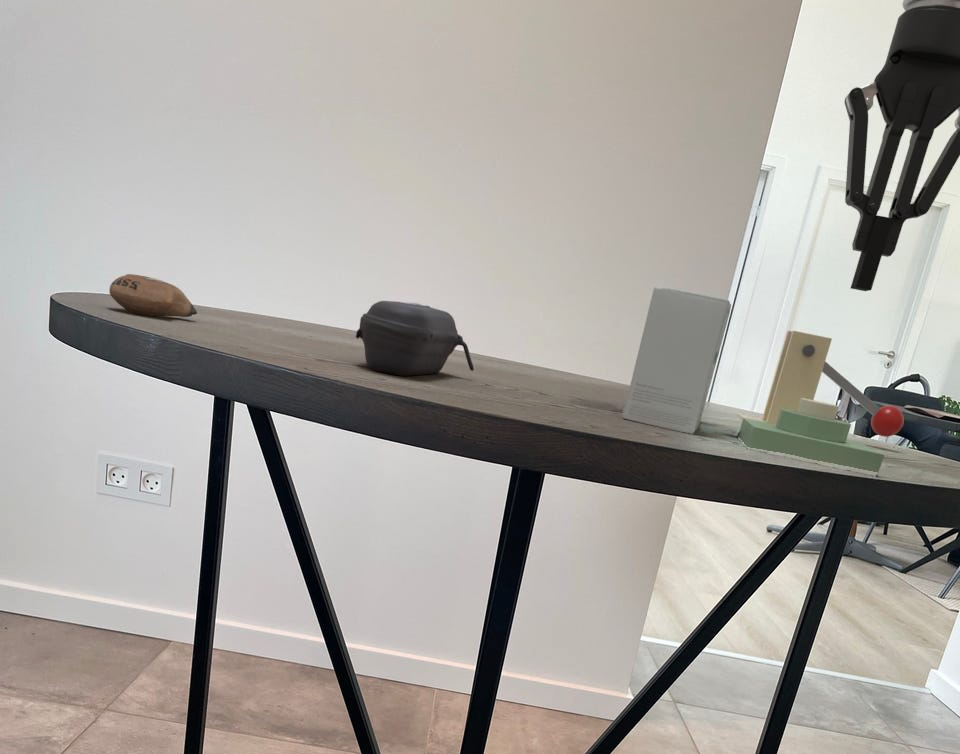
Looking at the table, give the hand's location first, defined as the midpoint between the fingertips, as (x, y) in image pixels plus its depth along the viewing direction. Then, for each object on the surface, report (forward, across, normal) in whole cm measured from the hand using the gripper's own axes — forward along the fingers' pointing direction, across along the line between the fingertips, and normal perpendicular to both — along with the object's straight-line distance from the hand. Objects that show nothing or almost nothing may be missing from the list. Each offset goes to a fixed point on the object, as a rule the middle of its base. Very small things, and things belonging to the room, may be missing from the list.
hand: (860, 288), depth 94 cm
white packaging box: (+17, +16, +5) cm, 23 cm away
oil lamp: (+16, +71, +4) cm, 73 cm away
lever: (+11, -4, -17) cm, 21 cm away
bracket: (+16, +1, -17) cm, 24 cm away
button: (+13, +2, +7) cm, 15 cm away
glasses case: (+16, +42, +6) cm, 45 cm away
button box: (+16, +2, +7) cm, 18 cm away
